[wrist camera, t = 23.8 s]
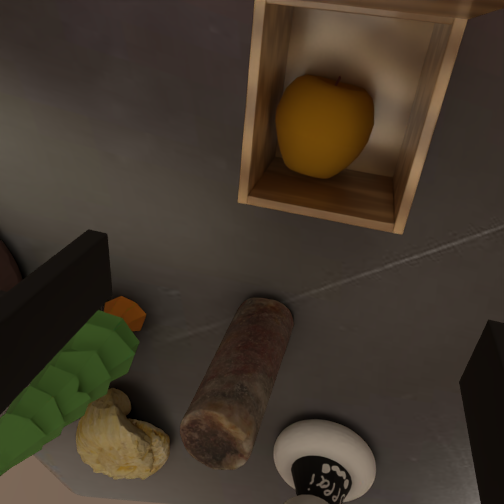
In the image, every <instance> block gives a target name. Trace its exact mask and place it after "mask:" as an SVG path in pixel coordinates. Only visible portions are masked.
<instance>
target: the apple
mask: <svg viewBox="0 0 504 504" xmlns="http://www.w3.org/2000/svg"><path fill="white" fill-rule="evenodd" d="M340 80H341V77H340V76H339V77H338V79H337V81H335V80H331V79H328V78H324V77H321V76H313V75H308V74H307V75H304V76H300V77H297V78H296V79H295V80H294V81H293V82H292V83H291V84H290V85H289V86H288V87H287V88H286V89H285V91H284V93H283V96H282V98H281V100H280V102H279V104H278V106H277V108H276V116H275V123H276V132H277V139H278V143H279V147H280V151H281V154H282V157H283V160H284V163H285V165H286V166H287V167H288V168H289V169H290V170H292V171H295V172H297V173H301V174H304V175H308V176H311V177H315V178H320V179H327V178H331V177H333V176H335V175H336V174H338V173H340V172H341V171H343V170H344V169H345V168H347V167H348V166H349V165H350V164H351V163H352V162H353V161H354V160H355V159H356V158H357V157H358V156H359V155H360V153H361V152H362V150H363V149H364V147H365V146H366V144H367V143H368V141H369V138H370V135H371V132H372V129H373V126H374V104H373V99H372V97H371V96H370V95H369V94H368V93H367V91H366V90H365V89H363V88H360V87H358V86H355V85H352V84H347V83H342V82H339V81H340Z"/></svg>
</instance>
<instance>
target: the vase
mask: <svg viewBox="0 0 504 504" xmlns="http://www.w3.org/2000/svg"><path fill="white" fill-rule="evenodd" d="M21 281H22V276H21V273H20V270H19V268H18V265H17V263H16V262H15V260H14V258H13V256H12V255H11V253H10V251H9V250H8V248H7V247H6V245H5V244H4V243H3V242H2V241H1V239H0V290H1V291H5V292H8V291H9V290H10V289H11V288H13V287H14V286H15V285H17V284H18V283H19V282H21Z"/></svg>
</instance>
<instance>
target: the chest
mask: <svg viewBox="0 0 504 504" xmlns="http://www.w3.org/2000/svg"><path fill="white" fill-rule="evenodd" d="M467 20H468V19H460V18H452V17H443V16H434V15H425V14H416V13H407V12H398V11H390V10H381V9H372V8H363V7H354V6H345V5H336V4H327V3H319V2H310V1H301V0H255V2H254V14H253V26H252V38H251V50H250V62H249V74H248V86H247V98H246V110H245V121H244V133H243V145H242V157H241V169H240V181H239V193H238V202H239V203H244V204H249V205H254V206H259V207H264V208H269V209H275V210H280V211H285V212H290V213H295V214H300V215H305V216H310V217H315V218H320V219H325V220H330V221H335V222H341V223H346V224H351V225H356V226H361V227H366V228H371V229H376V230H381V231H386V232H393V233H396V234H403V231H404V228H405V225H406V221H407V218H408V215H409V211H410V208H411V205H412V201H413V198H414V195H415V192H416V188H417V185H418V182H419V178H420V175H421V172H422V168H423V165H424V162H425V159H426V155H427V152H428V149H429V145H430V142H431V139H432V136H433V132H434V129H435V126H436V122H437V119H438V116H439V112H440V109H441V106H442V103H443V99H444V96H445V93H446V89H447V86H448V83H449V79H450V76H451V73H452V70H453V66H454V63H455V60H456V56H457V53H458V50H459V46H460V43H461V40H462V37H463V33H464V30H465V27H466V23H467ZM307 74H308V75H313V76H321V77H324V78H328V79H331V80H335V81H337V79H338V77H339V76H340V77H341V80H340V81H339V82H342V83H347V84H352V85H355V86H358V87H360V88H363V89H365V90H366V91H367V93H368V94H369V95H370V96H371V97H372V99H373V104H374V126H373V129H372V132H371V135H370V138H369V141H368V143H367V144H366V146H365V147H364V149H363V150H362V152H361V153H360V155H359V156H358V157H357V158H356V159H355V160H354V161H353V162H352V163H351V164H350V165H349V166H348V167H347V168H345V169H344V170H343V171H341V172H340V173H338V174H336V175H335V176H333V177H331V178H327V179H320V178H315V177H311V176H308V175H304V174H301V173H297V172H295V171H292V170H290V169H289V168H288V167H287V166H286V165H285V163H284V160H283V157H282V154H281V151H280V147H279V143H278V139H277V132H276V123H275V116H276V108H277V106H278V104H279V102H280V100H281V98H282V96H283V93H284V91H285V89H286V88H287V87H288V86H289V85H290V84H291V83H292V82H293V81H294V80H295V79H296V78H297V77H300V76H304V75H307Z"/></svg>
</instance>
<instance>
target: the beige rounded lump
mask: <svg viewBox="0 0 504 504" xmlns="http://www.w3.org/2000/svg"><path fill="white" fill-rule="evenodd" d="M130 411H131V403H130V400H129V398H128V396H127V395H126V394H125V393H123V392H122V391H120V390H118V389H115V388H111V389H109V390H108V392H107V394H106V395H104V396H102V397H101V398H99V399H97V400H95V401H93V402H91V403H89V404H88V407H87V409H86V412H85V414H84V416H83V417H81V419H80V421H79V424H78V427H77V432H76V443H77V452H78V453H79V454H80V456H81V459H82V461H83V462H84V463H85V464H89V465H90V467H92V468H93V471H94V472H96V473H99V472H102V473H103V474H104V475H108V476H109V477H113V478H114V479H115V480H117V479H119V478H127V479H130V478H131V479H134V478H141V479H142V480H144V479H145V478H147V477H148V476H150V475H152V474H154V473H155V472H157V471H158V470H159V469H160V468H161V467H162V465H164V464H165V462H166V461H167V459H168V456H169V454H170V451H169V449H170V446H169V443H170V439H169V436H168V435H167V434H165V433H164V430H161V429H160V428H157V427H155V426H154V425H152V424H150V423H148V422H144V421H138V420H136V419H130V418H129V419H127V417H126V415H128V414H129V412H130Z"/></svg>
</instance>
